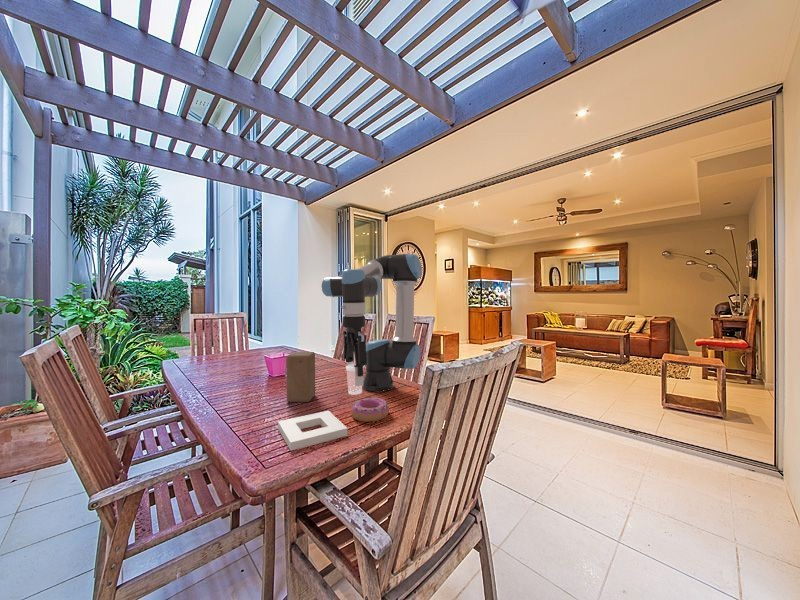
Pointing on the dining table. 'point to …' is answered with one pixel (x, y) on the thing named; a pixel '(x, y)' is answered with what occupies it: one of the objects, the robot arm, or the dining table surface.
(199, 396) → the dining table surface
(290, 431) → the socket plate
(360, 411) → the donut
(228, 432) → the dining table surface
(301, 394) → the wooden block
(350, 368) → the beverage cup
